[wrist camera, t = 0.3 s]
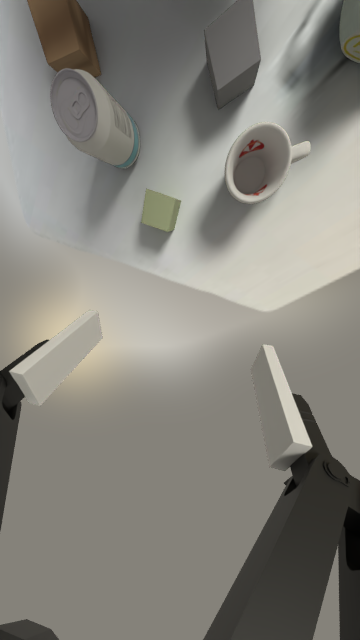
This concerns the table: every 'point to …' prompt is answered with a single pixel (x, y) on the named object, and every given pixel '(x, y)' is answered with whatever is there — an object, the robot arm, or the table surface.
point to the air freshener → (350, 29)
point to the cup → (261, 162)
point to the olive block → (160, 210)
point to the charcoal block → (233, 52)
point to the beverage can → (93, 118)
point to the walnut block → (65, 35)
